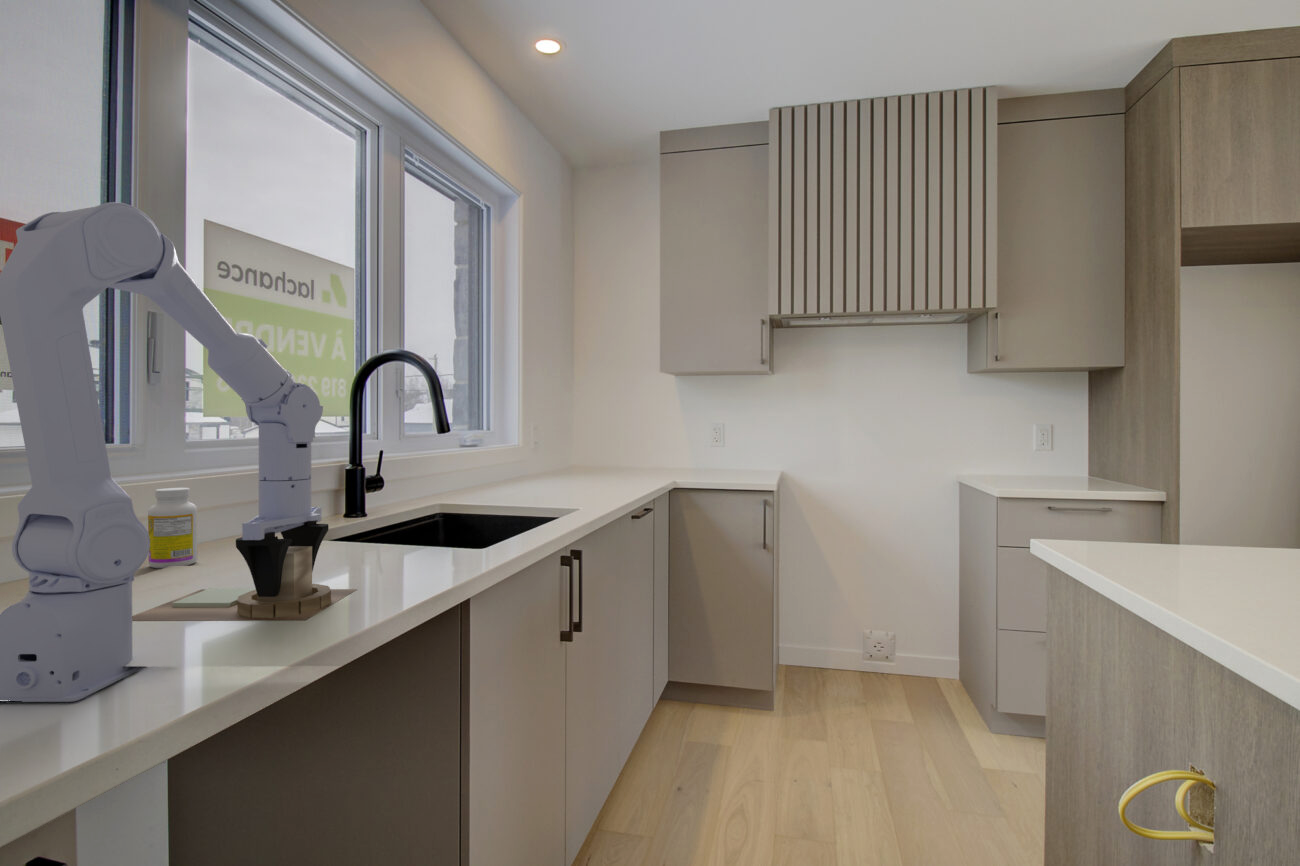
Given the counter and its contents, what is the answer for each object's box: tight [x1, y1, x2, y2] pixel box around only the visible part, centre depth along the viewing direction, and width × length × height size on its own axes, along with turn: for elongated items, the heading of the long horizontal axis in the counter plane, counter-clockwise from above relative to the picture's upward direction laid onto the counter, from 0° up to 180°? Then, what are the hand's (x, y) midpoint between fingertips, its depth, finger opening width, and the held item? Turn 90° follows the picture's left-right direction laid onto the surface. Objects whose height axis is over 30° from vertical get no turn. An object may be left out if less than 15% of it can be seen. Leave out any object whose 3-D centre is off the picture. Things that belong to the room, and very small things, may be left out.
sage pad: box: [172, 587, 256, 607], centre depth 83 cm, size 7×7×1 cm
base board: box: [132, 583, 358, 622], centre depth 81 cm, size 14×21×3 cm, turn 92°
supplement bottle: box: [147, 487, 198, 569], centre depth 108 cm, size 7×7×13 cm
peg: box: [257, 546, 313, 602], centre depth 80 cm, size 4×4×7 cm
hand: (285, 588), depth 80 cm, fingers open, 7 cm apart
